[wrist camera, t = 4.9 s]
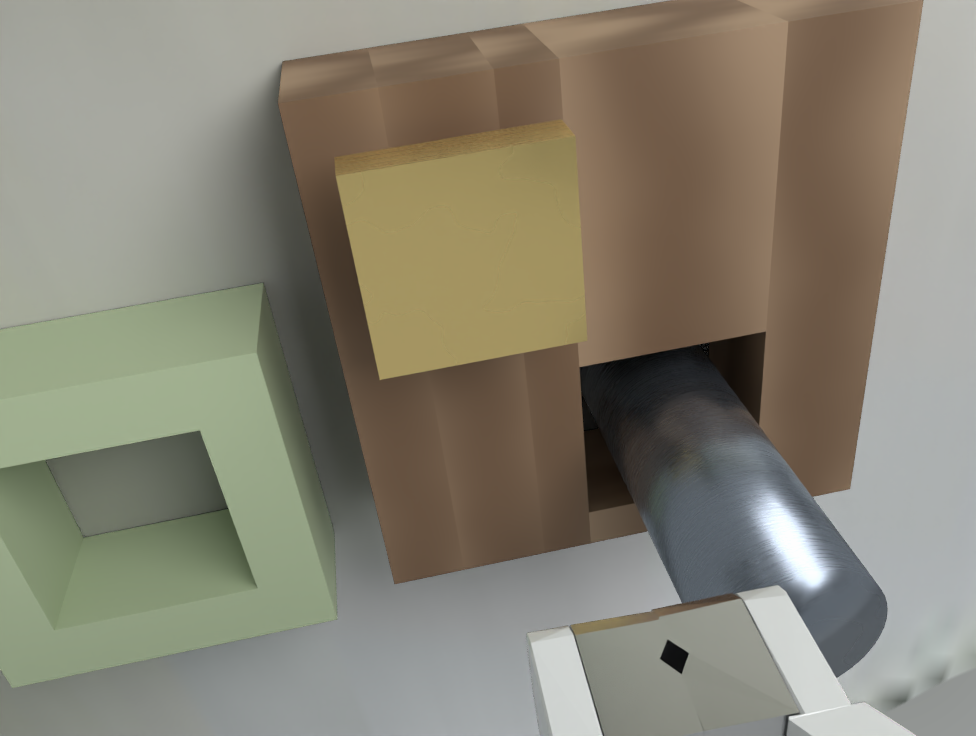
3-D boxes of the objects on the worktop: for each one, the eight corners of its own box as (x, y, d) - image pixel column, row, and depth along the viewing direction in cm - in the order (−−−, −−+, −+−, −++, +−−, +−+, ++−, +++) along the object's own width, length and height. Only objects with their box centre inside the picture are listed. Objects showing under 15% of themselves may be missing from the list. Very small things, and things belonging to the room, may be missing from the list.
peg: (689, 293, 28) (899, 553, 18) (687, 394, 30) (874, 676, 20) (569, 315, 28) (715, 593, 18) (576, 416, 30) (710, 713, 20)
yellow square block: (523, 75, 22) (575, 135, 18) (539, 250, 25) (587, 340, 21) (330, 106, 22) (335, 176, 18) (367, 281, 25) (380, 379, 20)
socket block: (836, -26, 24) (923, -1, 20) (793, 418, 32) (849, 489, 28) (282, 61, 22) (278, 103, 19) (385, 500, 31) (394, 584, 27)
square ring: (263, 282, 25) (256, 352, 22) (334, 533, 31) (337, 619, 28) (-92, 345, 25) (-156, 428, 21) (45, 591, 30) (12, 687, 27)
